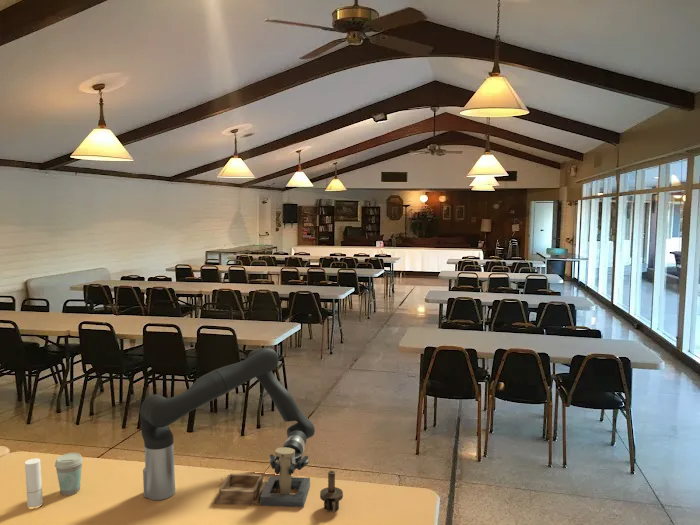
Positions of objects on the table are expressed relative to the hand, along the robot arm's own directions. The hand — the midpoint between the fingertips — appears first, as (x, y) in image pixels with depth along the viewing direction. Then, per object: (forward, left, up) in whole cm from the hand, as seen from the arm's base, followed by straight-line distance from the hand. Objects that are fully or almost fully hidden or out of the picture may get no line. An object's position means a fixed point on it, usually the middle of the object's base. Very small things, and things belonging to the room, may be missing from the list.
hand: (283, 471), depth 190 cm
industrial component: (+16, -3, -10) cm, 19 cm away
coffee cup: (-73, 0, -10) cm, 74 cm away
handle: (0, +3, -9) cm, 10 cm away
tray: (-15, +3, -10) cm, 18 cm away
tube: (-79, -10, -10) cm, 80 cm away
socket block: (0, +3, -10) cm, 10 cm away
